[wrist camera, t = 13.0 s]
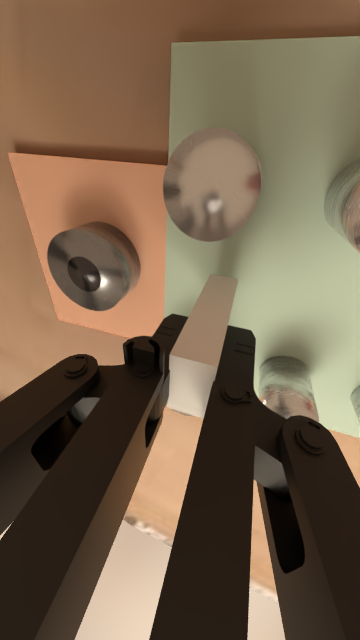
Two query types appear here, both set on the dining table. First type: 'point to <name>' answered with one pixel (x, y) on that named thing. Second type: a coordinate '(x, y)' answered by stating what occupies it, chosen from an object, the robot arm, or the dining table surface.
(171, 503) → the dining table surface
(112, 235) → the dark grey disc
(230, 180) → the spacers
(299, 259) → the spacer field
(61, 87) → the dining table surface
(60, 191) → the tile
